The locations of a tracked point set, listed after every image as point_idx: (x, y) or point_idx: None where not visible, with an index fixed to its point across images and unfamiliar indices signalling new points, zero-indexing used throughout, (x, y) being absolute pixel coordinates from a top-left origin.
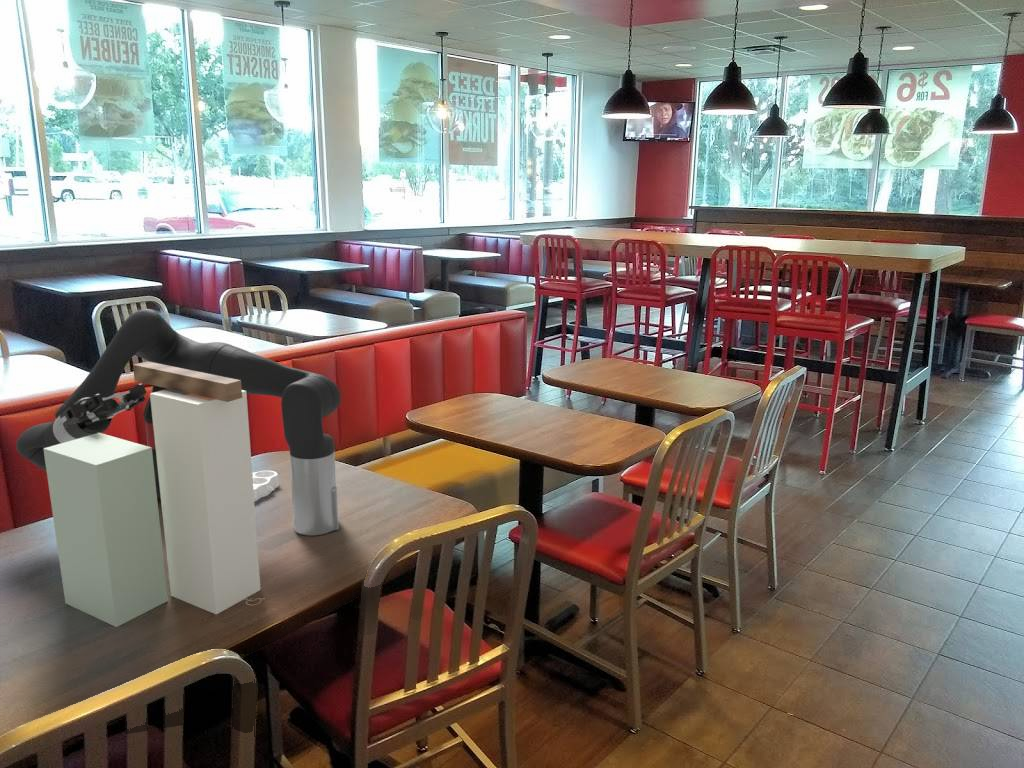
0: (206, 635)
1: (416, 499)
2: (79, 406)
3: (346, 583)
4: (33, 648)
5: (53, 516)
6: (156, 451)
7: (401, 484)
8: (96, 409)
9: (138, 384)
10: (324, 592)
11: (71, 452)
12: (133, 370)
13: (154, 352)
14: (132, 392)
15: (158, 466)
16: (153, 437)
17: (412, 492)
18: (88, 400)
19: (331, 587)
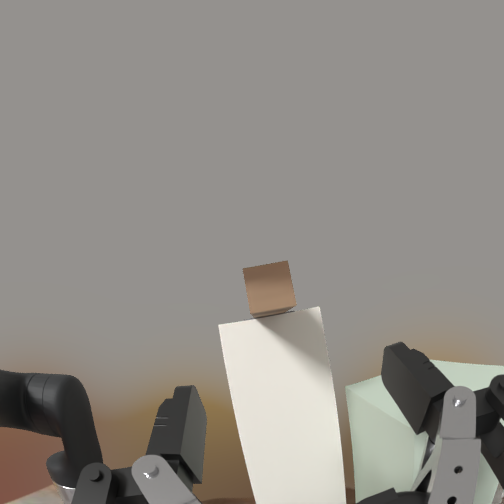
0: (354, 496)
1: (51, 497)
2: (475, 393)
3: (223, 498)
4: None
5: (497, 484)
6: (335, 403)
7: (15, 501)
8: (409, 419)
9: (192, 385)
10: (244, 500)
11: (461, 369)
12: (290, 276)
13: None
14: (189, 448)
15: (338, 425)
16: None
17: (35, 498)
18: (432, 364)
19: (235, 501)
